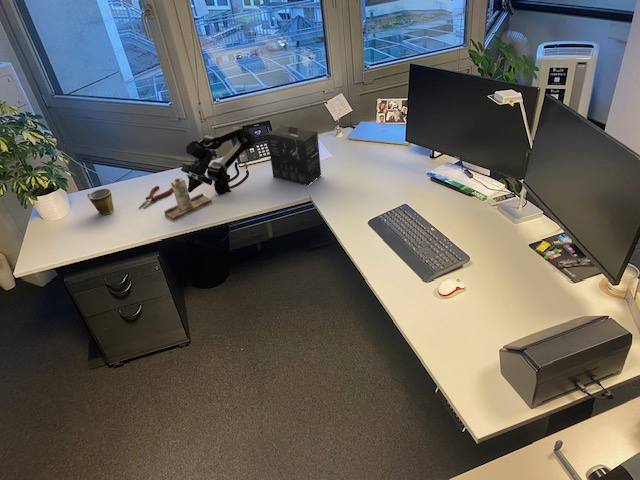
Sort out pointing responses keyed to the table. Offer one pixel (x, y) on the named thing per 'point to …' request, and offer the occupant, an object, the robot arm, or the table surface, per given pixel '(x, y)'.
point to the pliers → (155, 198)
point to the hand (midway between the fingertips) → (188, 192)
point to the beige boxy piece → (181, 193)
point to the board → (196, 202)
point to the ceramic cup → (102, 201)
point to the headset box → (294, 154)
